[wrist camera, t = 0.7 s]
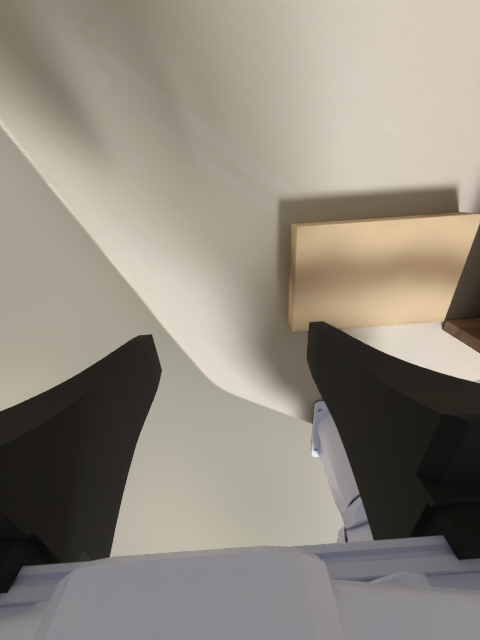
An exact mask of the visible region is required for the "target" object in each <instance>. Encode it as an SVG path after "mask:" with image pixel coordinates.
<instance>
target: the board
mask: <svg viewBox="0 0 480 640" xmlns="http://www.w3.org/2000/svg"><path fill="white" fill-rule="evenodd" d="M479 224H480V214H479V213H464V212H454V213H440V214H425V215H411V216H397V217H383V218H369V219H354V220H340V221H326V222H312V223H297V224H291V242H290V272H289V303H288V323H289V325H290V327H291V329H292V331H293V332H300V331H309V322H317V321H324V322H326V323H328V324H330V325H332V326H334V327H335V328H337V329H343V328H358V327H372V326H386V325H401V324H415V323H430V322H444V319H445V317H446V314H447V311H448V308H449V306H450V303H451V300H452V298H453V295H454V292H455V289H456V287H457V284H458V281H459V279H460V276H461V273H462V270H463V268H464V265H465V262H466V260H467V257H468V254H469V251H470V249H471V246H472V243H473V241H474V238H475V235H476V232H477V230H478V227H479Z"/></svg>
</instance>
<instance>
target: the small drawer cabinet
mask: <svg viewBox="0 0 480 640" xmlns="http://www.w3.org/2000/svg"><path fill="white" fill-rule="evenodd" d="M442 330H444V331H445V332H447V333H449V334H450V335H452V336H453V337H455V338H457V339H458V340H460V341H461V342H463V343H465V344H466V345H468V346H469V347H471V348H472V349H474V350H476V351H477V352H479V353H480V318H468V319H457V320H446V321H445V324H444V326H443V329H442Z"/></svg>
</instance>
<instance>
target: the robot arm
mask: <svg viewBox="0 0 480 640" xmlns="http://www.w3.org/2000/svg"><path fill="white" fill-rule="evenodd" d="M307 362H308V365H309V368H310V371H311V374H312V377H313V379H314V381H315V383H316V386H317V388H318V390H319V392H320V394H321V396H322V398H323V400H324V401H318V402H316V403H315V406H314V418H313V430H312V441H311V456H313V457H320V459H321V462H322V465H323V468H324V471H325V474H326V477H327V480H328V483H329V486H330V489H331V492H332V495H333V498H334V501H335V503H336V505H337V508H338V510H339V511H340V513H341V516H342V519H343V522H344V525H345V526H342V527H340V529H339V532H338V540H337V543H334V544H321V545H306V546H292V547H282V546H252V547H240V548H225V549H212V550H198V551H186V552H171V553H158V554H145V555H131V556H118V557H110V553H111V548H112V543H113V538H114V533H115V527H116V523H117V518H118V514H119V510H120V505H121V501H122V496H123V492H124V488H125V484H126V480H127V476H128V472H129V468H130V465H131V461H132V458H133V454H134V450H135V447H136V444H137V441H138V438H139V435H140V432H141V430H142V427H143V425H144V422H145V420H146V417H147V415H148V412H149V410H150V407H151V405H152V402H153V399H154V397H155V394H156V391H157V389H158V385H159V381H160V376H161V371H162V369H161V365H160V362H159V358H158V355H157V351H156V348H155V344H154V340H153V337H152V335H139V336H137V337H135V338H133V339H131V340H130V341H128V342H127V343H125V344H124V345H122V346H121V347H119V348H118V349H117V350H115V351H113V352H112V353H110V354H109V355H107V356H106V357H104V358H103V359H101V360H100V361H98V362H97V363H95V364H93V365H92V366H90V367H89V368H87V369H86V370H84V371H82V372H81V373H79V374H77V375H76V376H74V377H72V378H71V379H68V380H67V381H65V382H63V383H61V384H59V385H57V386H55V387H53V388H52V389H49V390H47V391H46V392H43V393H41V394H39V395H37V396H35V397H33V398H30V399H28V400H26V401H24V402H22V403H20V404H17V405H15V406H13V407H10V408H8V409H5V410H3V411H0V640H480V384H479V383H475V382H472V381H468V380H464V379H460V378H456V377H452V376H449V375H445V374H442V373H439V372H435V371H432V370H429V369H426V368H423V367H420V366H417V365H414V364H411V363H408V362H406V361H403V360H401V359H398V358H396V357H393V356H391V355H388V354H386V353H384V352H381V351H379V350H377V349H375V348H373V347H371V346H369V345H367V344H365V343H363V342H361V341H359V340H357V339H355V338H353V337H351V336H350V335H348V334H346V333H344V332H342V331H341V330H339V329H337V328H335V327H334V326H332V325H330V324H328V323H326V322H324V321H317V322H309V331H308V346H307Z"/></svg>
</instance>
